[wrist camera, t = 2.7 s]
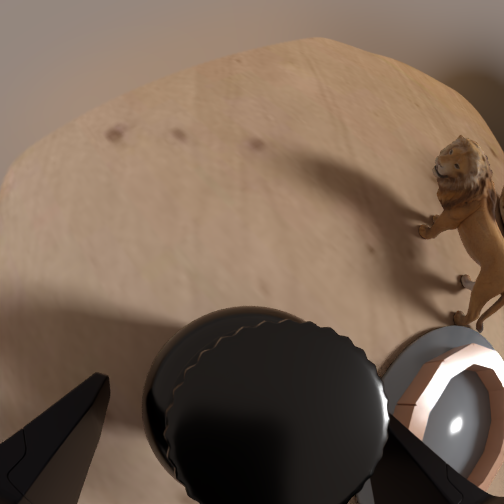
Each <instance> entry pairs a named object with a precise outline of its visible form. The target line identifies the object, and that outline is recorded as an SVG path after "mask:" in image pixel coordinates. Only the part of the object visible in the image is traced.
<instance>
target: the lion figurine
mask: <svg viewBox="0 0 504 504" xmlns="http://www.w3.org/2000/svg"><path fill="white" fill-rule="evenodd" d="M435 163H436V165H435V167H434V168H433V173H434V175H435V176H436V177H437V182H438V185H439V189H438V192H437V196H438V199H439V201H440V203H441V204H442V207H443V208H444V211H443V212H442V214H441V215H440V216H439V215H435V216H433V222H434V224H433V226H432V227H431V228H429V227H428V226H427V225H421V226H420V228H419V234H420V235H421V236H422V237H423V238H425V239H431V238H435V237H437V235H439V234H440V233H441V232H443V231H446V230H452V229H456V228H457V229H458V232H459V235H460V238H461V240H462V243H463V245H464V247H465V249H466V251H467V253H468V254H469V256H470V257H471V258H472V259H473V260H474V261H475V262H476V263H477V264H478V265H480V266H481V271H480V274H479V275H478V277H477V279H476V282H472V281H471V278H470V276H469V275H463V276H462V284H463V286H464V287H465V288H467V289H469V290H471V291H472V292H471V297H470V303H469V309H468V313H467V315H466V316H465V315H464V313H463V312H461V311H457V312H456V314H455V315H454V322H455V324H456V325H457V326H465V325H467V324H469V323H471V322H473V321H475V320H476V319H478V318H479V315H480V311H481V309H482V308H483V306H484V305H485V304H486V302H488V301H489V300H490V299H492V298H493V297H495V296H497V295H499V294H501V297H500V298H499V299H498V300H497V301H496V302H495V303H494V304H493V305H492V306H491V307H490V308H489V309H488V310H487V311H486V312H484V313H483V314H482V315H481V316H480V318H479V319H478V321H477V323H476V330H478V332H479V333H481V332H482V331H483V321H484V320H485V319H486V318H488V317H489V316H491V315H492V314H494V313H495V312H496V311H498V310H499V309H500V308H501V307H502V306H503V305H504V238H503V236H502V234H501V232H500V230H499V227H498V225H497V222H496V220H495V206H496V199H497V197H496V192H495V189H494V182H493V181H492V179H491V178H492V175H493V172H492V170H491V169H490V164H489V162H488V158H487V156H486V155H485V154H484V152H483V149H482V148H481V147H480V146H479V145H478V143H477V142H475V141H472V140H469V139H468V138H464V137H463V136H462V135H460V136H459V137H458V138H457V139H456V141H454V142H452V143H451V144H450V145H448V146H447V147H446V148H444V149H443V150H441V152H440V155H439V156H438V157H437V158H436V160H435Z"/></svg>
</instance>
